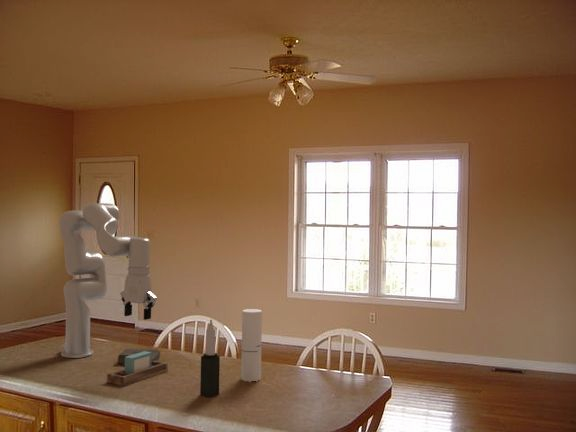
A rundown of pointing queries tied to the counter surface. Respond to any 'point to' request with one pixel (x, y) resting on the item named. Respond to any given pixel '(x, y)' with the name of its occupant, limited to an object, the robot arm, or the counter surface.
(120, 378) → the wooden compartment tray
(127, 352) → the marble piece
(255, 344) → the cylindrical container
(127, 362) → the teal block
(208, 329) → the marker pen
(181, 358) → the counter surface
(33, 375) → the counter surface
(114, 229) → the robot arm
